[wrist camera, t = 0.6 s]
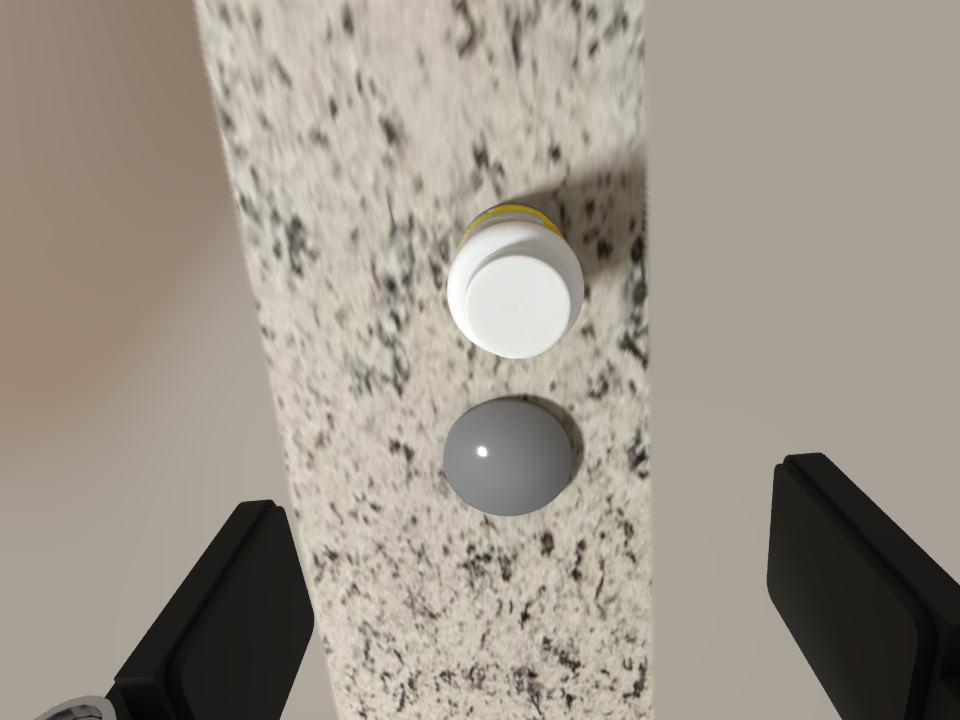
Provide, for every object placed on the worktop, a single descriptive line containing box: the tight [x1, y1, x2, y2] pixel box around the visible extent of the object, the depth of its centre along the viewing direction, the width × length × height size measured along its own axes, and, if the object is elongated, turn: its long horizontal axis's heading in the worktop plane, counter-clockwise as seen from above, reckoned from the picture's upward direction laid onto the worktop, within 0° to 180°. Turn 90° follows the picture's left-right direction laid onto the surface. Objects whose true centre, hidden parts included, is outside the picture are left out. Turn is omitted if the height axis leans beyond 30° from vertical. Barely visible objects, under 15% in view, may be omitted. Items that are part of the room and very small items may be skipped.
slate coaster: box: [443, 398, 572, 516], centre depth 34 cm, size 8×8×1 cm
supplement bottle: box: [447, 204, 584, 359], centre depth 26 cm, size 6×6×10 cm
